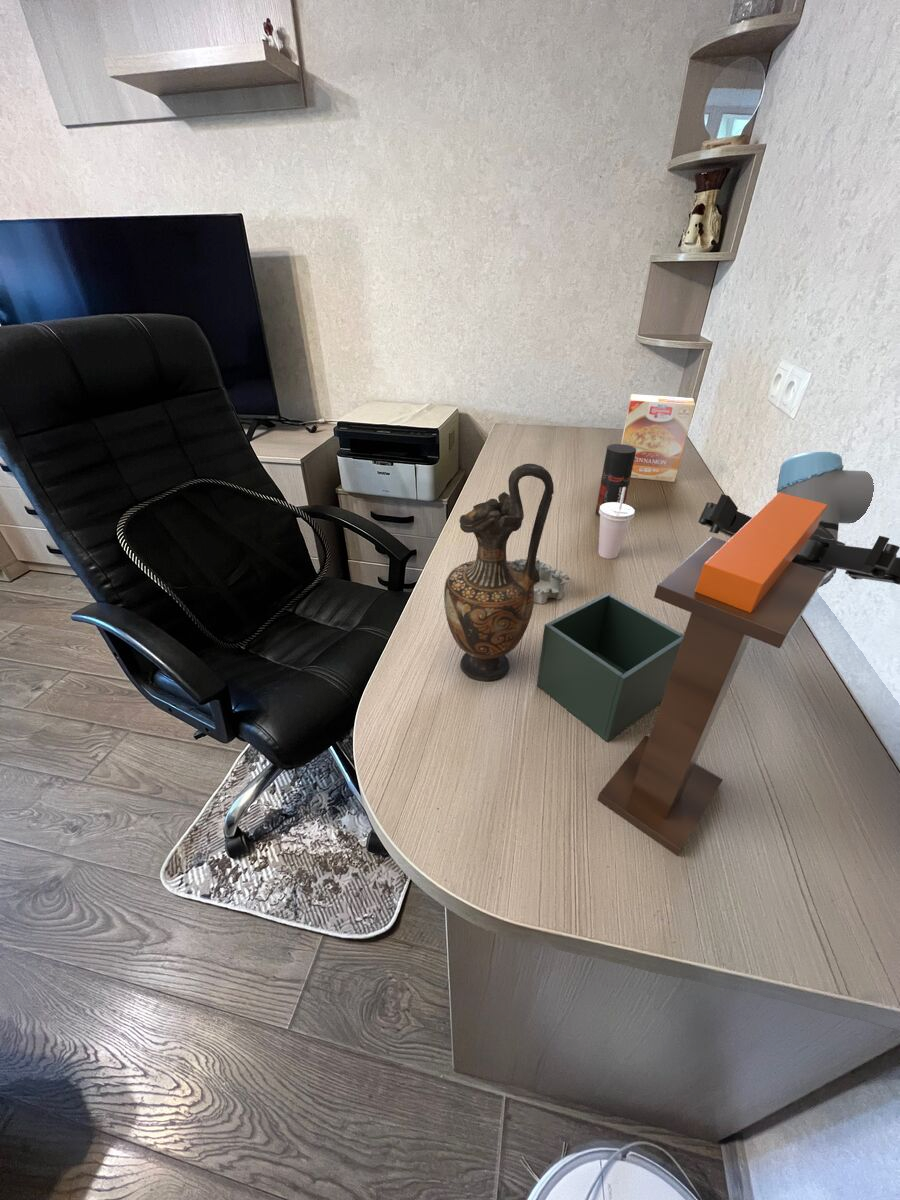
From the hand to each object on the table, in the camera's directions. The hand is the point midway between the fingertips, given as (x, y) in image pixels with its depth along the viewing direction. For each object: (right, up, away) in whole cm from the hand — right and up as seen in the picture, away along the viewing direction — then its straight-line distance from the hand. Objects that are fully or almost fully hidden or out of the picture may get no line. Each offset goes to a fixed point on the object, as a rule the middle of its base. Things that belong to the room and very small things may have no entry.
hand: (791, 527), depth 48 cm
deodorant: (+3, +13, +66) cm, 67 cm away
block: (-7, -3, -7) cm, 10 cm away
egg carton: (-18, -5, +41) cm, 45 cm away
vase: (-28, -17, +24) cm, 40 cm away
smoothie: (-2, +2, +50) cm, 51 cm away
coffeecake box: (+19, +26, +85) cm, 91 cm away
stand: (-10, -28, +7) cm, 31 cm away
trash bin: (-13, -19, +19) cm, 30 cm away
